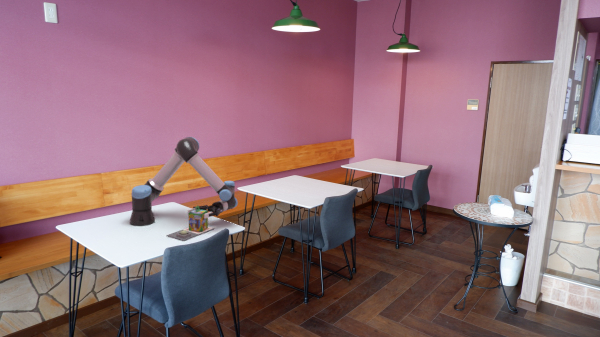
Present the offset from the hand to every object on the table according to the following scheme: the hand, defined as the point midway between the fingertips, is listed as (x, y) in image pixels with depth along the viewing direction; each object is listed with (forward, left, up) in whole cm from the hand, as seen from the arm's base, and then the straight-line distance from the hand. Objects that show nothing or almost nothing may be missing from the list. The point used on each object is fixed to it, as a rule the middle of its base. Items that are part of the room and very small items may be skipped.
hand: (196, 214), depth 242 cm
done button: (+2, -12, -9) cm, 15 cm away
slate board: (0, -4, -11) cm, 11 cm away
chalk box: (0, +2, -10) cm, 10 cm away
